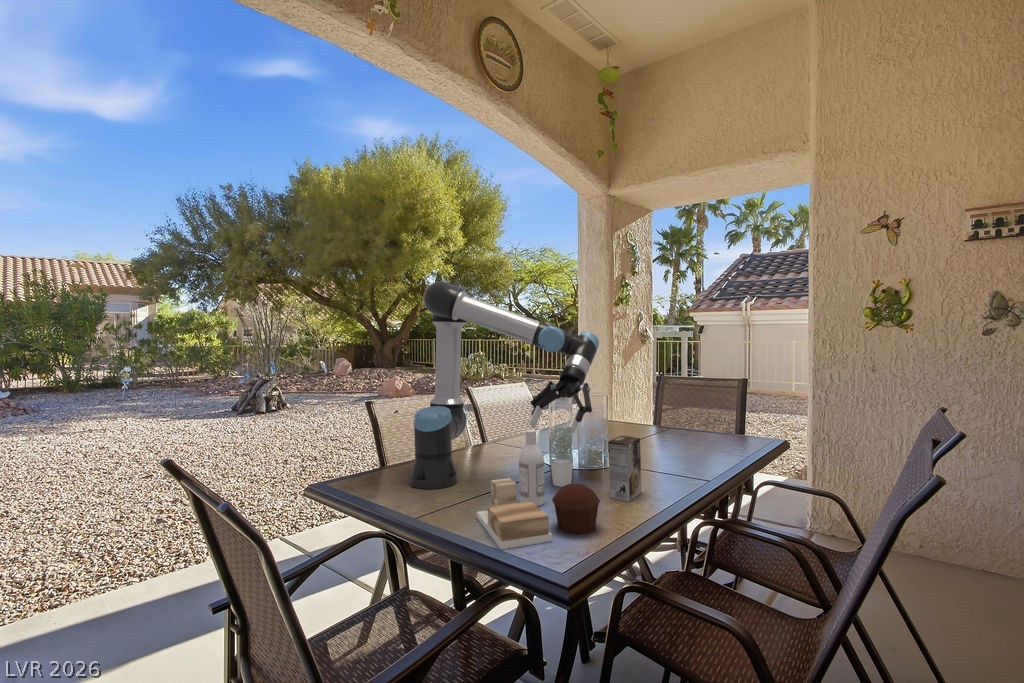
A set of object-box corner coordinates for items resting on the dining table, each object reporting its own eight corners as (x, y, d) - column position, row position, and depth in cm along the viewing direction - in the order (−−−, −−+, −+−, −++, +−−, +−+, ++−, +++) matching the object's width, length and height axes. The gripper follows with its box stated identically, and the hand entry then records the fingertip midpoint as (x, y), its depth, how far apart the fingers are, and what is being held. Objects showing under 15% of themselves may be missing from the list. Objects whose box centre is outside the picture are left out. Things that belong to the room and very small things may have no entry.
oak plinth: (487, 523, 115) (487, 506, 115) (531, 517, 118) (530, 500, 118) (501, 541, 104) (501, 523, 104) (548, 533, 108) (548, 516, 108)
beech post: (491, 511, 122) (491, 480, 122) (510, 509, 124) (509, 478, 124) (497, 518, 117) (496, 485, 117) (516, 515, 119) (516, 483, 119)
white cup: (572, 480, 153) (572, 458, 153) (573, 487, 146) (573, 464, 146) (551, 480, 154) (550, 458, 154) (550, 487, 147) (550, 464, 147)
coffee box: (621, 489, 143) (620, 435, 143) (642, 493, 139) (641, 437, 139) (608, 497, 136) (607, 440, 136) (630, 502, 132) (629, 443, 132)
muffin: (561, 515, 123) (560, 476, 123) (604, 521, 118) (603, 480, 118) (546, 533, 112) (545, 490, 112) (593, 540, 107) (592, 495, 107)
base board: (477, 517, 122) (476, 511, 122) (521, 511, 126) (521, 505, 126) (500, 549, 104) (500, 542, 104) (551, 541, 107) (551, 534, 107)
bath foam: (544, 498, 136) (542, 428, 136) (545, 507, 129) (544, 432, 129) (519, 499, 136) (518, 428, 136) (519, 507, 129) (518, 433, 129)
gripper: (615, 381, 148) (594, 439, 136) (545, 379, 162) (521, 431, 150) (607, 365, 143) (584, 423, 131) (536, 364, 158) (511, 416, 146)
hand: (550, 427), depth 141 cm, fingers open, 13 cm apart
